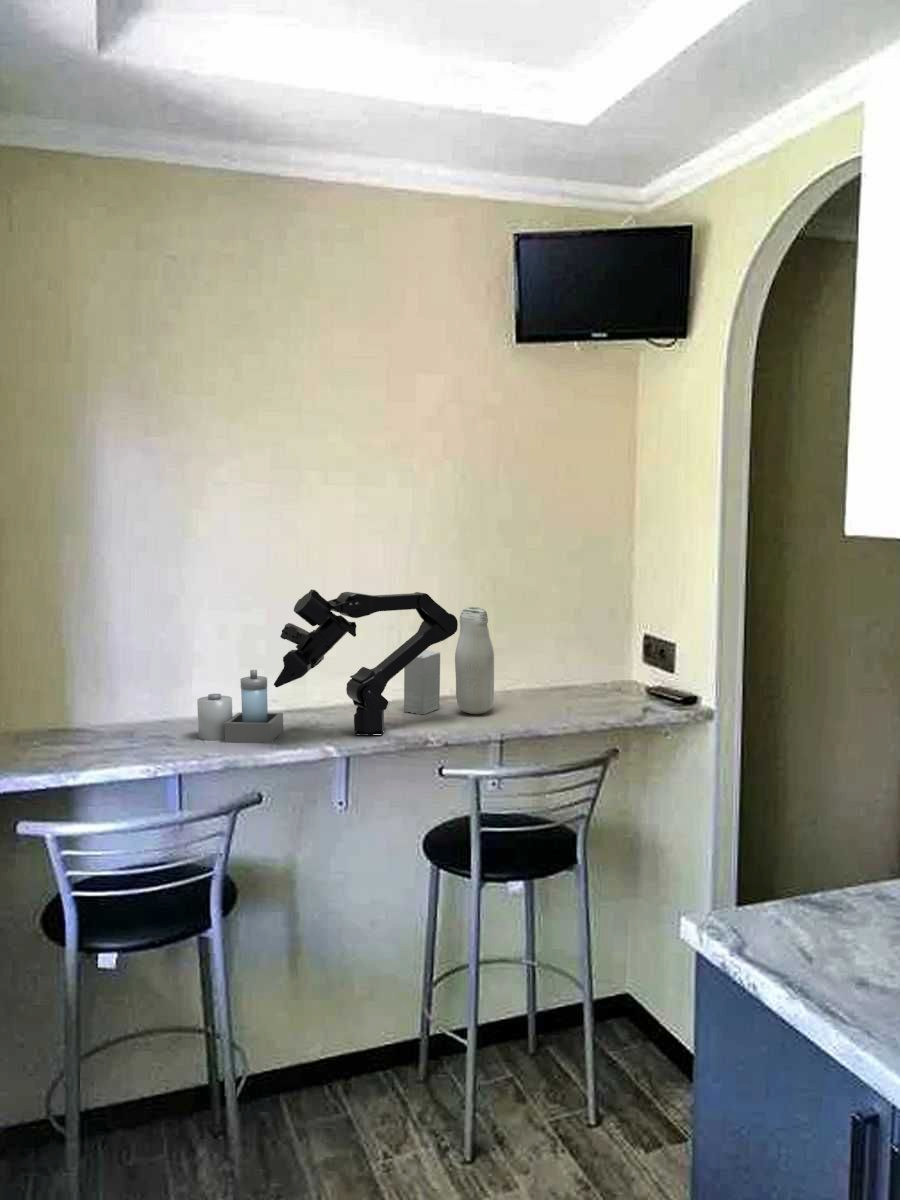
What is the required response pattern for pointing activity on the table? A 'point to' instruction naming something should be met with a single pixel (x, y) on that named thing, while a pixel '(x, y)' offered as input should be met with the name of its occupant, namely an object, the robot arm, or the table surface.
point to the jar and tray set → (233, 722)
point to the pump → (254, 698)
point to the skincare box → (422, 683)
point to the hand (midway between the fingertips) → (280, 682)
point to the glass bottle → (474, 663)
